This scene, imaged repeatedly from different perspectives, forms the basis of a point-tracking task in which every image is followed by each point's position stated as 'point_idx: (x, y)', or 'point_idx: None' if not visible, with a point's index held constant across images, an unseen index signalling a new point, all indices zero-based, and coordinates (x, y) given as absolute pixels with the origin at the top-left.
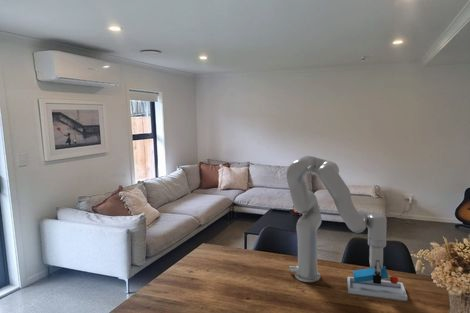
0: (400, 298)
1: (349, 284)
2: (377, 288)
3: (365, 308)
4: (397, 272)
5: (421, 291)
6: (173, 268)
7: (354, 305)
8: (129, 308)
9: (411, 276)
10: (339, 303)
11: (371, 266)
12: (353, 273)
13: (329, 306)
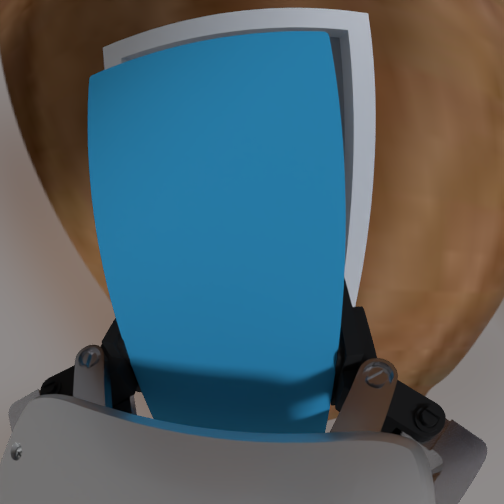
0: None
1: (188, 32)
2: None
3: (40, 182)
4: (470, 340)
5: None
6: None
7: (36, 126)
8: None
9: (430, 376)
10: (29, 53)
11: (19, 417)
12: (222, 39)
13: (7, 32)
